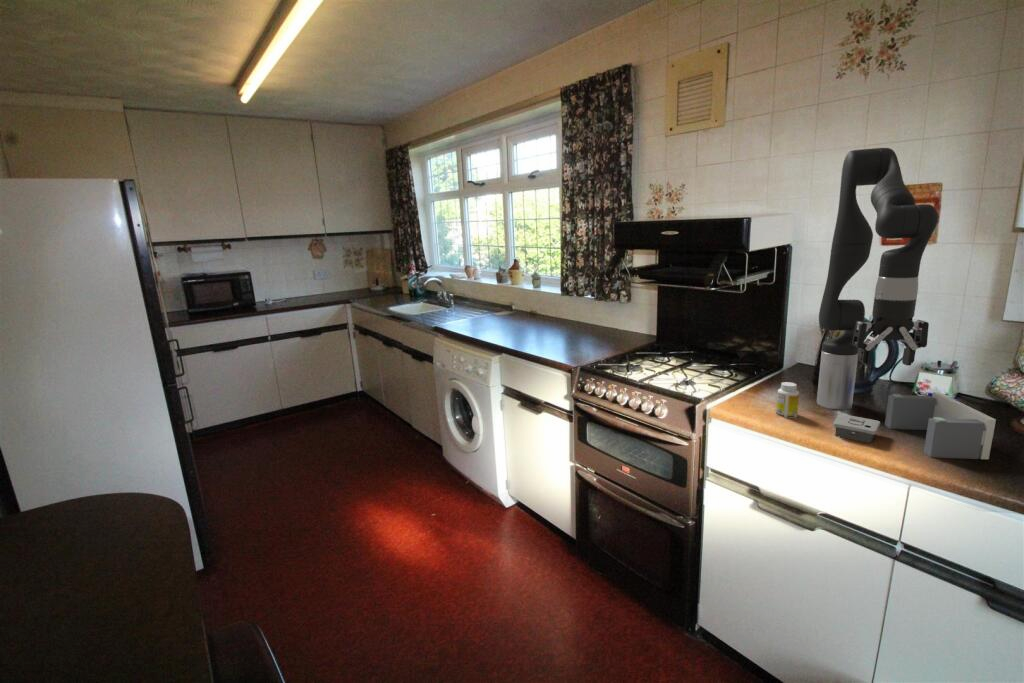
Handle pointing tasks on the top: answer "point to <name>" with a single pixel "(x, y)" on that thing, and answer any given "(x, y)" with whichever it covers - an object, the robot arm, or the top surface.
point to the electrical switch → (856, 427)
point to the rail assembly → (943, 425)
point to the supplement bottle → (787, 400)
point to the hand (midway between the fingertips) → (885, 364)
